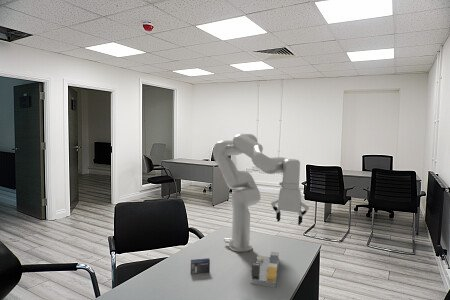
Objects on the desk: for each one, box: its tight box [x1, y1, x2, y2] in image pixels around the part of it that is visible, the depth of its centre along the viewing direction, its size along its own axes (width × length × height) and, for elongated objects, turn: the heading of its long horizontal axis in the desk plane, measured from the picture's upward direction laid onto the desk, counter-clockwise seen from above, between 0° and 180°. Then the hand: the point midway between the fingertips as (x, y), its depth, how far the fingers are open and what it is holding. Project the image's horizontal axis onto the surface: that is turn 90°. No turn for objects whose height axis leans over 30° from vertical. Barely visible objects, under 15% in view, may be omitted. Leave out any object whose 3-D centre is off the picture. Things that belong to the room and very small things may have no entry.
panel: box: [250, 255, 280, 288], centre depth 133 cm, size 10×24×4 cm, turn 167°
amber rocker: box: [267, 263, 278, 281], centre depth 127 cm, size 4×9×1 cm, turn 167°
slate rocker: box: [268, 251, 280, 266], centre depth 139 cm, size 4×9×1 cm, turn 167°
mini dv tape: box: [190, 257, 211, 275], centre depth 131 cm, size 8×2×6 cm, turn 105°
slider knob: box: [251, 262, 260, 277], centre depth 125 cm, size 3×3×5 cm
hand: (288, 222), depth 138 cm, fingers open, 9 cm apart
